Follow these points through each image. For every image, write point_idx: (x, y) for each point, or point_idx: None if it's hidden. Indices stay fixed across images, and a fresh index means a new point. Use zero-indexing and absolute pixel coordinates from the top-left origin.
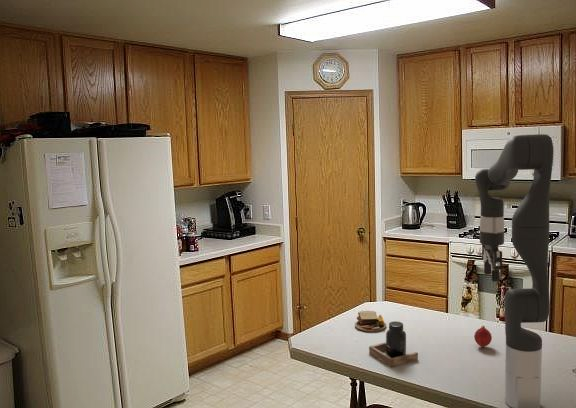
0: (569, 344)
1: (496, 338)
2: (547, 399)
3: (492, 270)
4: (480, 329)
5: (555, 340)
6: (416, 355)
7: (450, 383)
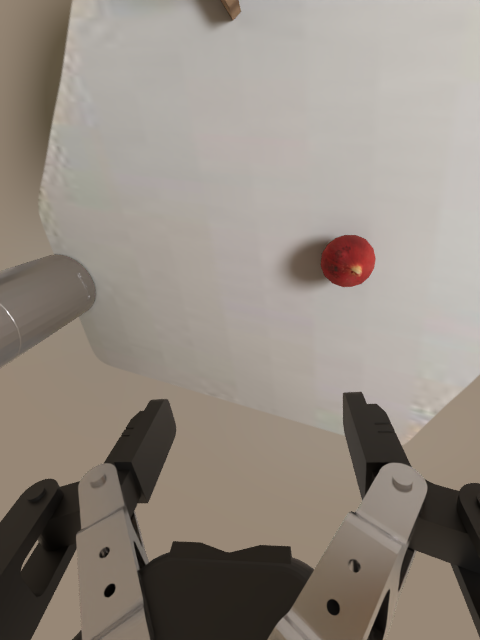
0: None
1: (404, 301)
2: (97, 330)
3: (114, 462)
4: (349, 259)
5: None
6: (227, 5)
7: (101, 135)
